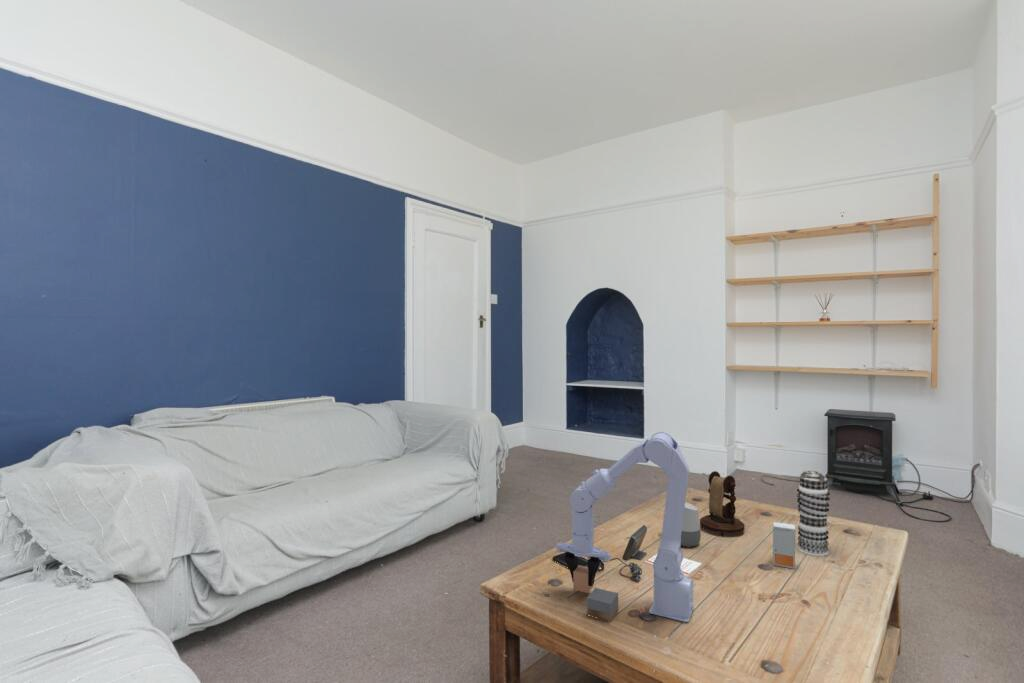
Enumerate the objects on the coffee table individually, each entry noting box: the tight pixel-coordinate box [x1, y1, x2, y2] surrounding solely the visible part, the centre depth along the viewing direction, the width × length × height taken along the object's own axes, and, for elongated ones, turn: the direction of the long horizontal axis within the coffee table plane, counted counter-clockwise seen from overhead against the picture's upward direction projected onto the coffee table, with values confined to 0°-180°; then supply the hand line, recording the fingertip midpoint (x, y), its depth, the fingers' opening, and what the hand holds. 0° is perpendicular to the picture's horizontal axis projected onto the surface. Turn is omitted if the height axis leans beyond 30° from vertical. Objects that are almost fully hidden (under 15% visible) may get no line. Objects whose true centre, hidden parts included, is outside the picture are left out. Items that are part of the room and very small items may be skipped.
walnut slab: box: [586, 603, 619, 623], centre depth 131 cm, size 6×6×2 cm
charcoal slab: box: [586, 587, 619, 614], centre depth 131 cm, size 6×6×2 cm
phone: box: [552, 552, 589, 568], centre depth 159 cm, size 8×1×15 cm
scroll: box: [699, 470, 746, 537], centre depth 187 cm, size 15×15×20 cm
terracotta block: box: [572, 565, 594, 594], centre depth 141 cm, size 4×4×5 cm
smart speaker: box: [681, 501, 702, 548], centre depth 175 cm, size 10×9×14 cm
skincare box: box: [772, 521, 796, 570], centre depth 158 cm, size 6×4×12 cm
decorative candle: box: [796, 470, 831, 557], centre depth 168 cm, size 9×9×25 cm
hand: (583, 582), depth 141 cm, fingers closed on terracotta block, 4 cm apart
